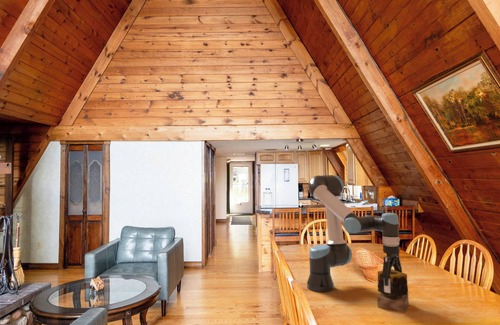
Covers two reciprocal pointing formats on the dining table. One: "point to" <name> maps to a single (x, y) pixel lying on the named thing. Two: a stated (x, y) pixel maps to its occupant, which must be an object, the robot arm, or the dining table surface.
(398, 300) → the walnut plinth
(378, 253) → the dining table surface
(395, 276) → the candle
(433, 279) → the dining table surface
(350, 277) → the dining table surface
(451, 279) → the dining table surface
